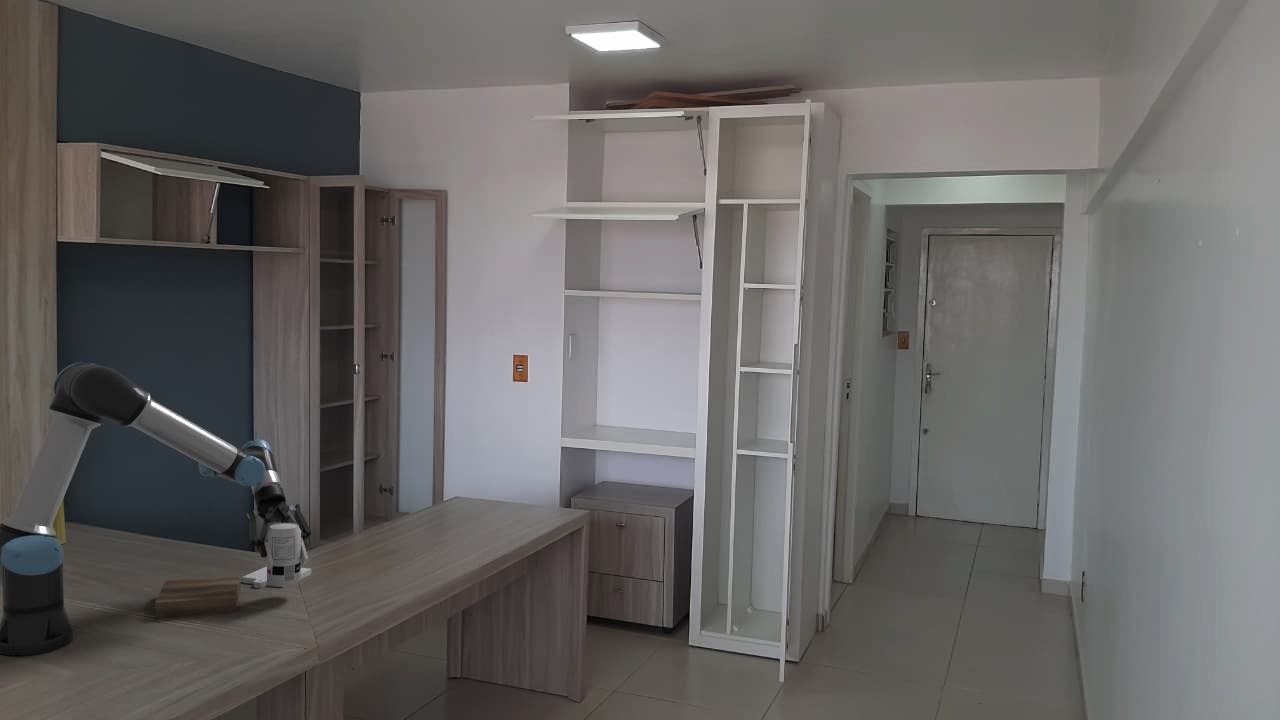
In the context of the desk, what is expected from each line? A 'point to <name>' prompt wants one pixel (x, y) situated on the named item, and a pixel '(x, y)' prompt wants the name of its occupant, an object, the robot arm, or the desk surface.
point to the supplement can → (284, 554)
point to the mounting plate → (261, 577)
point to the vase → (60, 524)
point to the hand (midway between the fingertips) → (288, 564)
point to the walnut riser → (198, 597)
